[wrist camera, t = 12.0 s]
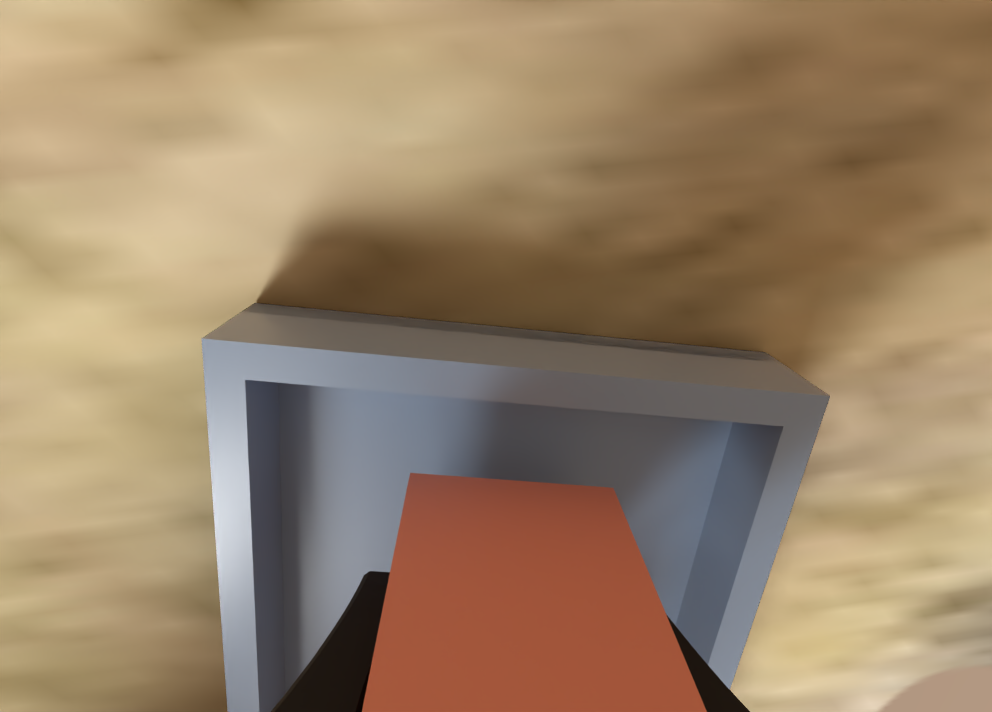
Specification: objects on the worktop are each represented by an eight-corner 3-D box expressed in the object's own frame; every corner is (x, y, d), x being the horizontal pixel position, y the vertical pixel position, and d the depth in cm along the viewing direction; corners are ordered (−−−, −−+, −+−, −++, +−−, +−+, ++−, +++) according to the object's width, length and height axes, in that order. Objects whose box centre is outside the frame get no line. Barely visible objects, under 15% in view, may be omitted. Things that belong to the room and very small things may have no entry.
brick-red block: (581, 641, 14) (654, 976, 8) (399, 632, 14) (346, 974, 8) (613, 487, 12) (729, 766, 7) (410, 472, 12) (353, 752, 6)
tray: (632, 810, 20) (655, 907, 18) (271, 797, 20) (240, 897, 17) (765, 352, 14) (830, 396, 12) (254, 303, 14) (201, 338, 11)
